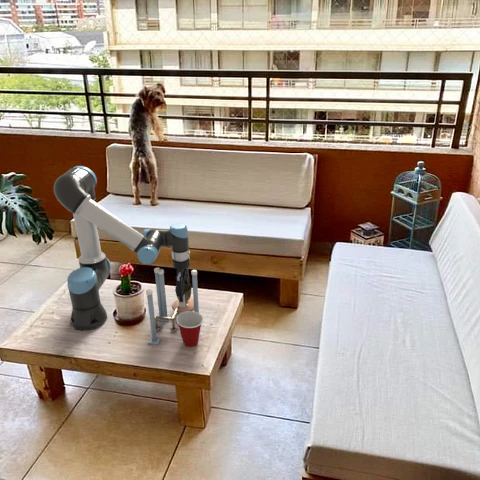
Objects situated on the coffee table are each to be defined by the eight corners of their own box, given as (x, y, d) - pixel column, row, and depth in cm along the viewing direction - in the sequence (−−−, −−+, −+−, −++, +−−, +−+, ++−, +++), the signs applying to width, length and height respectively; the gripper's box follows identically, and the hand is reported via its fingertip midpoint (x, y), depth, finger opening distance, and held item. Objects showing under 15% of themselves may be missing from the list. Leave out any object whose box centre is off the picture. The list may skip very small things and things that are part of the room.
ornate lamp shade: (191, 307, 201) (190, 292, 198) (175, 306, 201) (173, 291, 198) (193, 298, 208) (192, 283, 205) (177, 297, 208) (176, 283, 205)
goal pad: (169, 311, 201) (169, 310, 201) (175, 298, 211) (175, 297, 211) (193, 312, 200) (193, 311, 200) (198, 299, 210) (198, 298, 209)
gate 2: (200, 322, 194) (197, 273, 183) (156, 319, 196) (150, 271, 185) (202, 316, 197) (199, 269, 187) (158, 313, 199) (153, 266, 189)
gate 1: (148, 344, 180) (142, 293, 170) (162, 315, 198) (157, 268, 188) (158, 344, 180) (152, 293, 170) (171, 316, 198) (166, 268, 187)
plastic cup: (201, 352, 175) (199, 327, 170) (174, 349, 177) (172, 325, 172) (207, 335, 185) (206, 311, 180) (182, 333, 187) (180, 309, 182)
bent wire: (152, 331, 188) (151, 318, 185) (160, 315, 198) (158, 303, 196) (176, 332, 187) (175, 320, 184) (183, 316, 197) (182, 304, 194)
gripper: (184, 269, 185) (187, 315, 195) (194, 248, 203) (196, 291, 213) (166, 268, 186) (170, 314, 196) (178, 247, 204) (181, 290, 214)
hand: (184, 302), depth 205 cm, fingers closed on ornate lamp shade, 7 cm apart
